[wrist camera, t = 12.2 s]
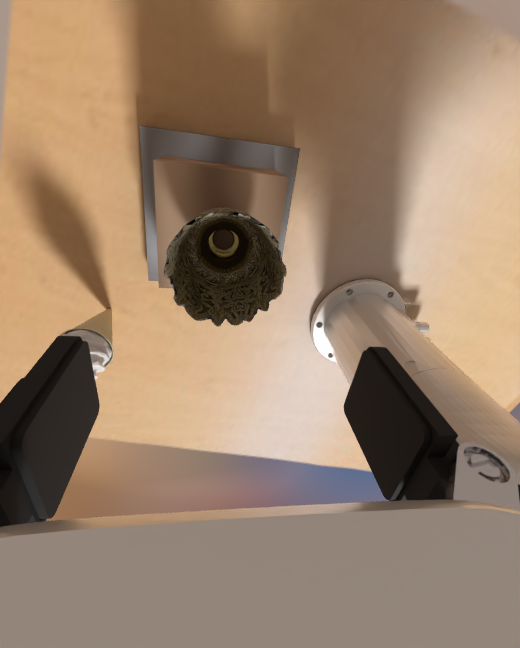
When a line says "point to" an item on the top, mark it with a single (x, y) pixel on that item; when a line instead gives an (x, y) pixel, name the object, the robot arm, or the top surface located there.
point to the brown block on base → (210, 186)
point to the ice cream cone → (97, 339)
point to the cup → (224, 267)
